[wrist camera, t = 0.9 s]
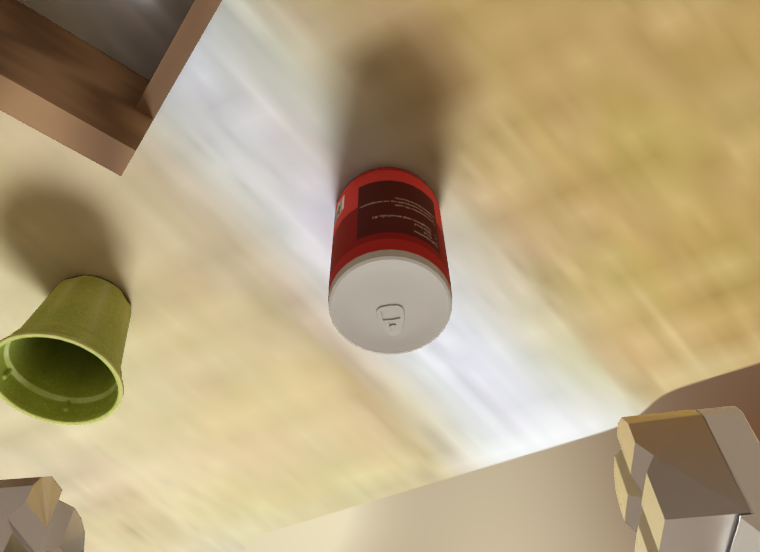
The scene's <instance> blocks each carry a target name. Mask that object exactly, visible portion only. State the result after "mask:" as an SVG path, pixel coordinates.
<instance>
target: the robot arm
mask: <svg viewBox="0 0 760 552" xmlns="http://www.w3.org/2000/svg"><path fill="white" fill-rule="evenodd" d="M617 437H618V440H619V442H620V445H621V448H622V449H621V450H620V451H619V452H618V453H617V454H616V455H615V459H614V479H615V489H616V494H617V498H618V502H619V506H620V509H621V512H622V516H623V519H624V522H625V523H626V524H627V525H628V526H630V527H631V528H632V529H633V530H634V531H636V532H637V536H636V544H635V551H634V552H760V442H759V441H758V439H757V437H756V435H755V434H754V432H753V430H752V428H751V427H750V425H749V423H748V421H747V420H746V418H745V416H744V414H743V413H742V411H741V410H739V409H738V408H737V407H736V406H728V407H718V408H709V409H699V410H682V411H673V412H665V413H656V414H647V415H638V416H630V417H622V418H621V419H620V421H619V423H618V430H617ZM61 492H62V489H61V487H60V486H59V485H58V484H57V482H56V481H55V480H54V478H53V477H52V476H49V477H35V478H22V479H8V480H0V552H84V540H85V530H84V527H83V523H82V519H81V517H80V515H79V514H78V512H77V511H76V509H75V508H74V507H72V506H70V505H68V504H66V503H64V502H62V501H60V500H58V499H59V497H60V494H61Z"/></svg>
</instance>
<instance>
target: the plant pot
mask: <svg viewBox="0 0 760 552" xmlns="http://www.w3.org/2000/svg"><path fill="white" fill-rule="evenodd" d="M130 317H131V306H130V304H129V303H128V302H127V300H126V299H125V297H124V295H123V293H122V291H121V290H120V289H119V288H117V287H116V286H115V285H113V284H112V283H110V282H108V281H106V280H103V279H101V278H97V277H93V276H86V275H83V276H79V277H75V278H71V279H65V280H63V281H62V282H60V283H59V284H58V285H57V286H56V288H55V289H54V290H53V291H52V292H51V293H50V295H49V296H48V297H47V298H46V299H45V301H44V302H43V303H42V304H41V305H40V306H39V308H38V309H37V310H36V311H35V312H34V313H33V314H32V316H31V317H30V318H29V319H28V320H27V321H26V322H25V324H24V325H23V326H22V327H21V328H20V329H18V330H17V331H15V332H14V333H13V334H11V335H10V336H8V337H6V338H4V339H2V340H0V398H1V399H3V400H4V401H5V402H6V403H7V404H8V405H10V406H12V407H13V408H15V409H16V410H18V411H20V412H22V413H24V414H26V415H28V416H31V417H33V418H36V419H39V420H42V421H45V422H49V423H54V424H61V425H83V424H91V423H94V422H98V421H101V420H103V419H105V418H107V417H108V416H110V415H111V414H113V413H114V412H115V411H116V410H117V409H118V407H119V405H120V404H121V401H122V398H123V394H124V386H123V381H122V372H121V363H122V357H123V352H124V347H125V342H126V337H127V332H128V327H129V322H130Z"/></svg>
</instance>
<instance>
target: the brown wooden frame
mask: <svg viewBox="0 0 760 552" xmlns="http://www.w3.org/2000/svg"><path fill="white" fill-rule="evenodd" d="M221 1H222V0H195V1H194V2H193V4H192V6H191V8H190V10H189V11H188V13H187V15H186V17H185V19H184V21H183V22H182V24H181V26H180V28H179V30H178V31H177V33H176V35H175V37H174V39H173V40H172V42H171V44H170V46H169V48H168V50H167V51H166V53H165V55H164V57H163V59H162V60H161V62H160V64H159V66H158V68H157V69H156V71H155V73H154V75H153V77H152V78H151V80H150V81H148V80H146V79H145V78H143V77H142V76H140V75H138V74H137V73H135V72H133V71H132V70H130V69H128V68H127V67H125V66H123V65H122V64H120V63H119V62H117V61H115V60H114V59H112V58H110V57H109V56H107V55H105V54H104V53H102V52H100V51H99V50H97V49H95V48H94V47H92V46H91V45H89V44H87V43H86V42H84V41H82V40H81V39H79V38H77V37H76V36H74V35H72V34H71V33H69V32H68V31H66V30H64V29H63V28H61V27H59V26H58V25H56V24H54V23H53V22H51V21H49V20H48V19H46V18H44V17H43V16H41V15H40V14H38V13H36V12H35V11H33V10H31V9H30V8H28V7H26V6H25V5H23V4H21V3H20V2H18V1H17V0H0V110H1V111H3V112H5V113H6V114H8V115H10V116H12V117H14V118H16V119H17V120H19V121H21V122H23V123H25V124H27V125H28V126H30V127H32V128H34V129H36V130H38V131H39V132H41V133H43V134H45V135H47V136H49V137H50V138H52V139H54V140H56V141H58V142H60V143H61V144H63V145H65V146H67V147H69V148H71V149H72V150H74V151H76V152H78V153H80V154H82V155H83V156H85V157H87V158H89V159H91V160H93V161H94V162H96V163H98V164H100V165H102V166H104V167H105V168H107V169H109V170H111V171H113V172H115V173H116V174H118V175H120V176H121V175H122V174H123V172H124V170H125V168H126V167H127V165H128V163H129V162H130V160H131V158H132V156H133V155H134V153H135V151H136V149H137V148H138V146H139V144H140V142H141V140H142V139H143V137H144V135H145V133H146V132H147V130H148V128H149V126H150V125H151V123H152V121H153V119H154V118H155V116H156V114H157V112H158V111H159V109H160V107H161V105H162V104H163V102H164V100H165V98H166V97H167V95H168V93H169V91H170V90H171V88H172V86H173V85H174V83H175V81H176V79H177V78H178V76H179V74H180V72H181V71H182V69H183V67H184V65H185V64H186V62H187V60H188V58H189V57H190V55H191V53H192V51H193V50H194V48H195V46H196V45H197V43H198V41H199V39H200V38H201V36H202V34H203V32H204V31H205V29H206V27H207V25H208V24H209V22H210V20H211V18H212V17H213V15H214V13H215V11H216V10H217V8H218V6H219V5H220V3H221Z"/></svg>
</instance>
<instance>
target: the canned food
mask: <svg viewBox="0 0 760 552" xmlns="http://www.w3.org/2000/svg"><path fill="white" fill-rule="evenodd" d="M328 302H329V311H330V317H331V319H332V322H333V324H334V326H335V327H336V329H337V330H338V332H339V333H340V334H341V335H342V336H343V337H344V338H345V339H346V340H347V341H349V342H350V343H352V344H353V345H355V346H357V347H359V348H361V349H364V350H366V351H370V352H374V353H379V354H401V353H406V352H411V351H414V350H417V349H419V348H422V347H423V346H425V345H427V344H429V343H430V342H432V341H433V340H434V339H435V338H436V337H438V336H439V335H440V333H441V332H442V331H443V330H444V328H445V327H446V325H447V323H448V321H449V318H450V314H451V310H452V292H451V282H450V276H449V269H448V262H447V255H446V249H445V242H444V235H443V228H442V222H441V215H440V209H439V205H438V202H437V200H436V198H435V195H434V194H433V192H432V191H431V190H430V188H429V187H428V186H427V185H426V184H425V182H424V181H422V180H421V179H420V178H419V177H418V176H416V175H414V174H412V173H411V172H409V171H406V170H402V169H399V168H392V167H384V168H376V169H372V170H369V171H367V172H364V173H362V174H360V175H359V176H357V177H356V178H355V179H353V180H352V181H351V182H350V183H349V184H348V186H347V187H346V188H345V189H344V191H343V193H342V194H341V196H340V197H339V200H338V203H337V206H336V212H335V222H334V234H333V245H332V257H331V268H330V280H329V296H328Z"/></svg>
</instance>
